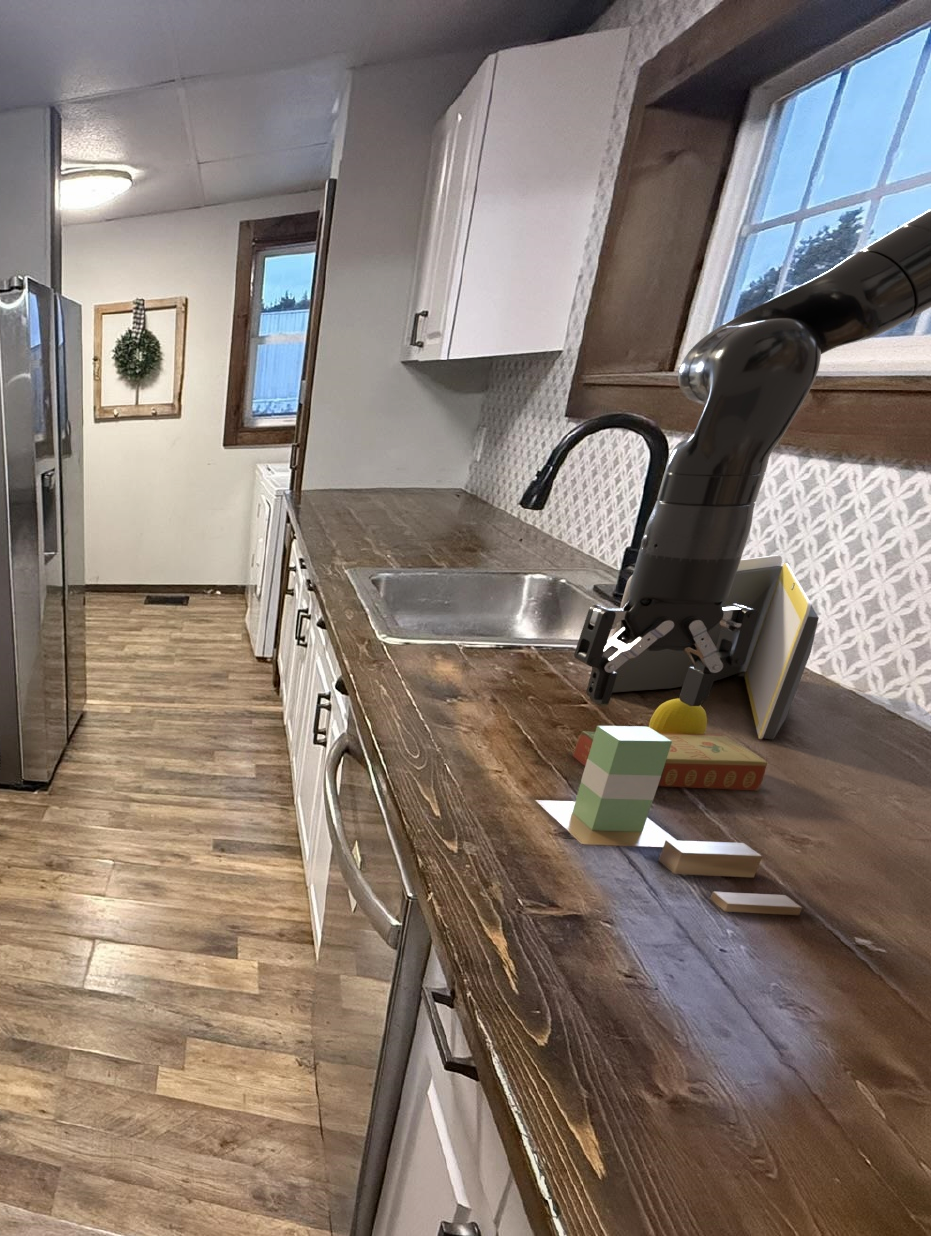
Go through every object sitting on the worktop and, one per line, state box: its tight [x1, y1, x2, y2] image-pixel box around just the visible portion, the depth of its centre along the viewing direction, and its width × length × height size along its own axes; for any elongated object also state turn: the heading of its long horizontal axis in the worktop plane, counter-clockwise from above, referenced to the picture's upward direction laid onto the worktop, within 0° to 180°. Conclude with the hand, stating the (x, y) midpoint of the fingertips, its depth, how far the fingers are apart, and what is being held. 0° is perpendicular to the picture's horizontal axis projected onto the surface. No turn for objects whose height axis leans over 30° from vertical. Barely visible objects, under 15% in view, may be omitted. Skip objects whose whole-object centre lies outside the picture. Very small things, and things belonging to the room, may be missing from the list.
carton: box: [572, 730, 768, 791], centre depth 96 cm, size 8×16×4 cm, turn 78°
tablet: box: [611, 554, 820, 740], centre depth 117 cm, size 35×22×20 cm, turn 142°
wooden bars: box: [658, 839, 803, 916], centre depth 75 cm, size 9×7×3 cm
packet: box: [572, 725, 672, 832], centre depth 85 cm, size 11×5×10 cm
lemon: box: [648, 697, 708, 734], centre depth 101 cm, size 6×6×8 cm
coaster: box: [534, 799, 677, 849], centre depth 87 cm, size 10×10×1 cm
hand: (643, 703), depth 81 cm, fingers open, 8 cm apart
